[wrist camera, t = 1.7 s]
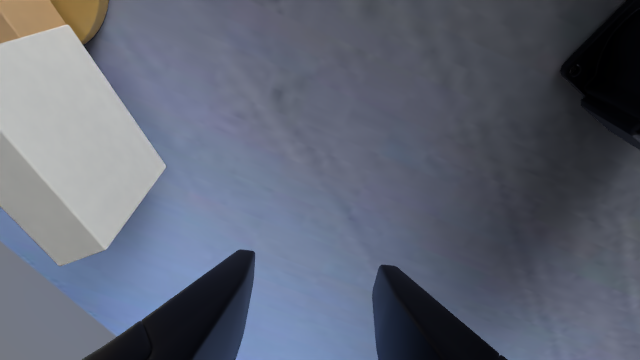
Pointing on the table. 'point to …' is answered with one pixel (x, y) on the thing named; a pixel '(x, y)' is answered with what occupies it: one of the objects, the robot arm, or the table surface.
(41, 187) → the block on round stand
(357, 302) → the table surface
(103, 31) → the table surface
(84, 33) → the swivel base
